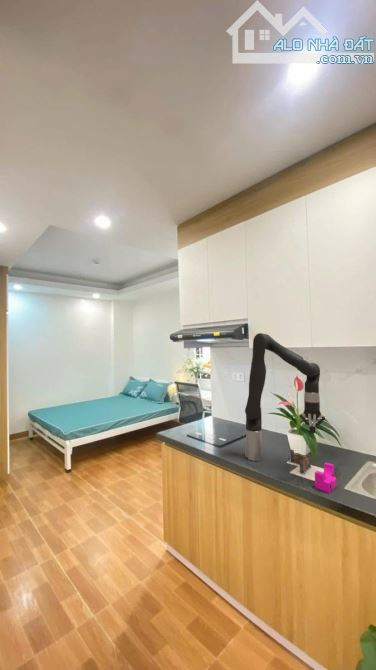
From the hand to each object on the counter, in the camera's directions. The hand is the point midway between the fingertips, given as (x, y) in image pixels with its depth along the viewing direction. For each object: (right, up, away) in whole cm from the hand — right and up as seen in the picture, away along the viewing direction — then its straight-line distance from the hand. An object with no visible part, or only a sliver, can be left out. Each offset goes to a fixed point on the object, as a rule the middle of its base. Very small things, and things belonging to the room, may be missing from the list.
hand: (312, 433), depth 147 cm
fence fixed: (-3, -21, +8) cm, 22 cm away
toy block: (+1, -21, -14) cm, 25 cm away
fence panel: (-4, -20, +1) cm, 20 cm away
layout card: (-4, -21, +2) cm, 21 cm away
